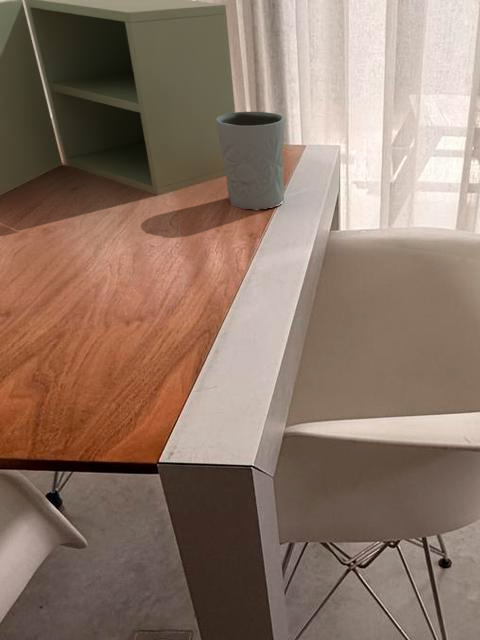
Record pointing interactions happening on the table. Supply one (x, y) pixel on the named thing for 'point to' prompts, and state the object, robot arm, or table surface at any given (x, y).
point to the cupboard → (137, 87)
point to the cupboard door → (22, 105)
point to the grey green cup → (253, 158)
